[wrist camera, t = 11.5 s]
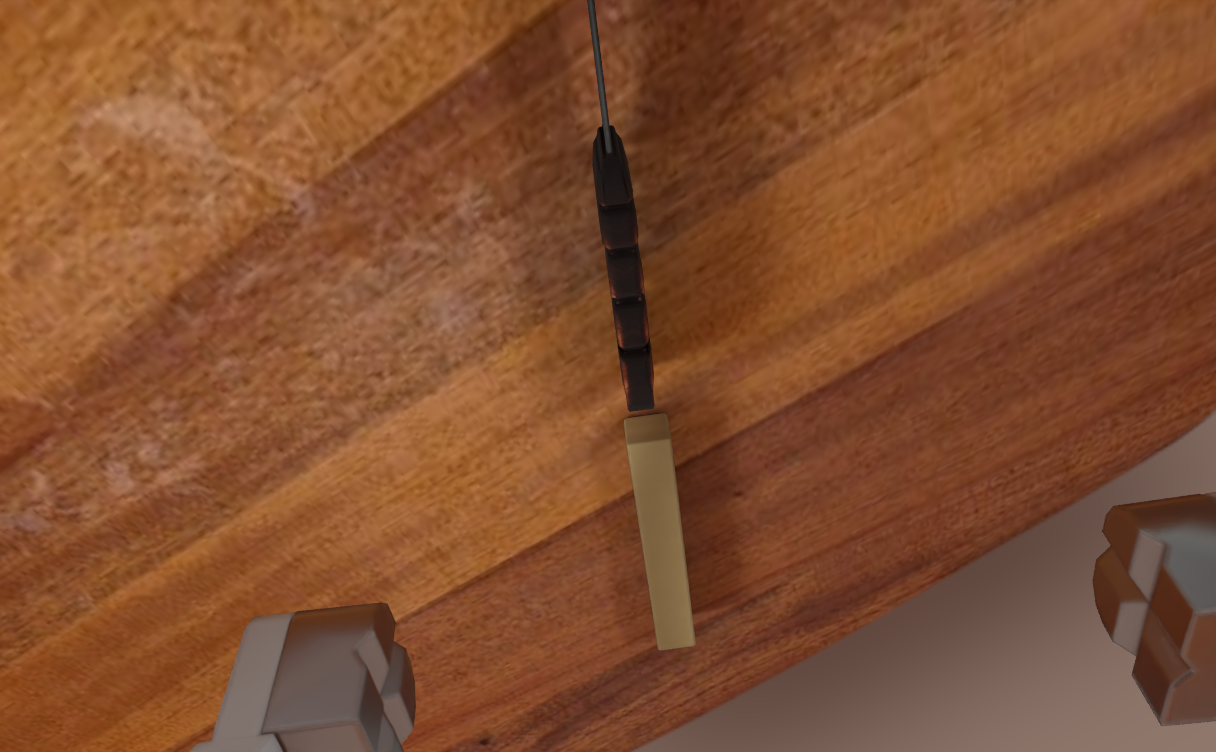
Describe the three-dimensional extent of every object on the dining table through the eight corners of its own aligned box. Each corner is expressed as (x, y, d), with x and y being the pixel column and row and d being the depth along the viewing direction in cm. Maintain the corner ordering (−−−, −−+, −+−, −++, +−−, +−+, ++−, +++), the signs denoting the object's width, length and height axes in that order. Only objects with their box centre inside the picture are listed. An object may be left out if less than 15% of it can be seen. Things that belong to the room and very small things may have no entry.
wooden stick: (666, 411, 33) (671, 438, 31) (690, 616, 38) (696, 646, 37) (623, 417, 33) (626, 445, 31) (654, 621, 39) (658, 651, 37)
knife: (534, -263, 22) (535, -250, 19) (578, -269, 22) (584, -257, 19) (620, 373, 32) (628, 435, 29) (650, 369, 32) (660, 430, 29)
